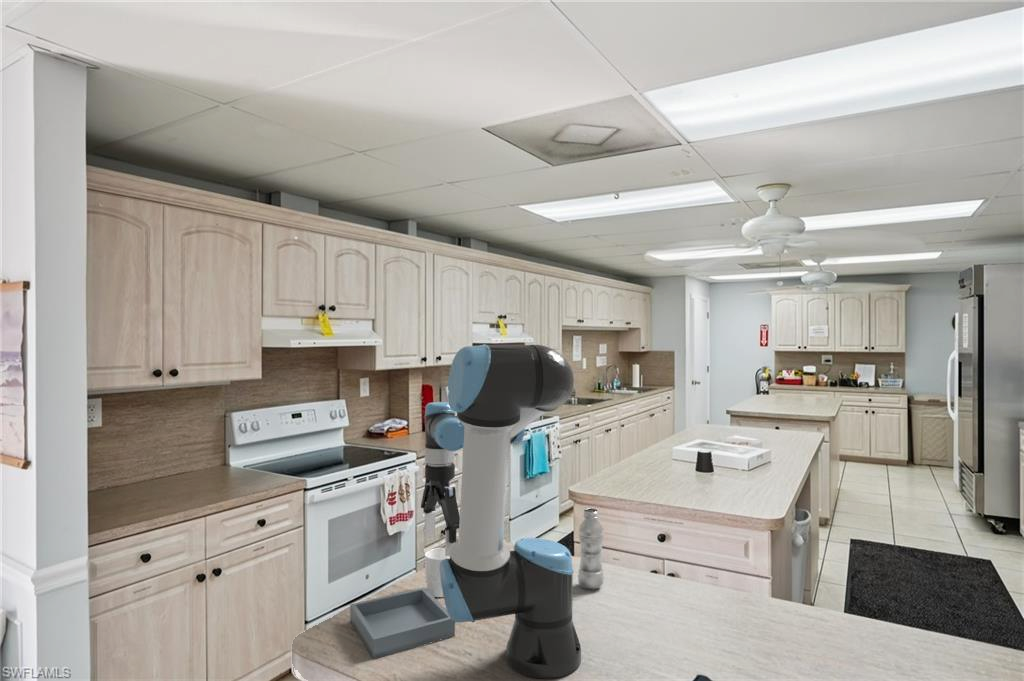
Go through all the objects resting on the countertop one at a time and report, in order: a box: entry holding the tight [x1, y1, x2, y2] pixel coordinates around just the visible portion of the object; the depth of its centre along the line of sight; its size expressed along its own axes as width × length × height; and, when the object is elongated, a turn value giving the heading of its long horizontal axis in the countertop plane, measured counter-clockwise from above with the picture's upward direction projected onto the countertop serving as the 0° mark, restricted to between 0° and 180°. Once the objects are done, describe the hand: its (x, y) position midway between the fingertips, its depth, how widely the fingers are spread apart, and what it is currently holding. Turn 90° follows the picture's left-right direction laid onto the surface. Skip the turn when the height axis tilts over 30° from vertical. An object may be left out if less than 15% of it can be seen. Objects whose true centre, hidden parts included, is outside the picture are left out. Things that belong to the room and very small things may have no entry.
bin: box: [349, 587, 456, 660], centre depth 132 cm, size 18×18×4 cm
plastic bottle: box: [577, 507, 605, 590], centre depth 153 cm, size 6×7×20 cm
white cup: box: [424, 547, 450, 598], centre depth 150 cm, size 8×8×10 cm
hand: (439, 545), depth 151 cm, fingers open, 13 cm apart
